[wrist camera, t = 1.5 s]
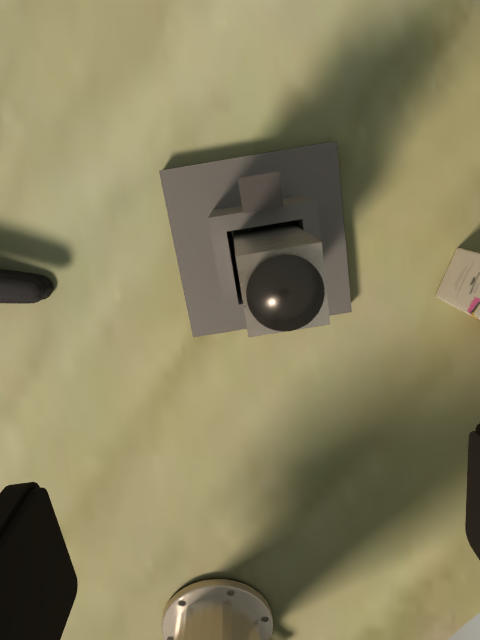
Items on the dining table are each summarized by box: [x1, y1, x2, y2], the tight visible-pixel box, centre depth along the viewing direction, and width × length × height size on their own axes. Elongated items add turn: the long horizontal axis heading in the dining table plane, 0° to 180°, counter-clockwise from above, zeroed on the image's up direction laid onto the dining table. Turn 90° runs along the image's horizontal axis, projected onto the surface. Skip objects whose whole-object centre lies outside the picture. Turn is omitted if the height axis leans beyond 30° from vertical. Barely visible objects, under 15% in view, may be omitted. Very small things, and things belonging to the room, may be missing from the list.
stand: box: [159, 141, 352, 337], centre depth 32 cm, size 14×14×11 cm
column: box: [232, 221, 330, 337], centre depth 28 cm, size 4×4×17 cm
